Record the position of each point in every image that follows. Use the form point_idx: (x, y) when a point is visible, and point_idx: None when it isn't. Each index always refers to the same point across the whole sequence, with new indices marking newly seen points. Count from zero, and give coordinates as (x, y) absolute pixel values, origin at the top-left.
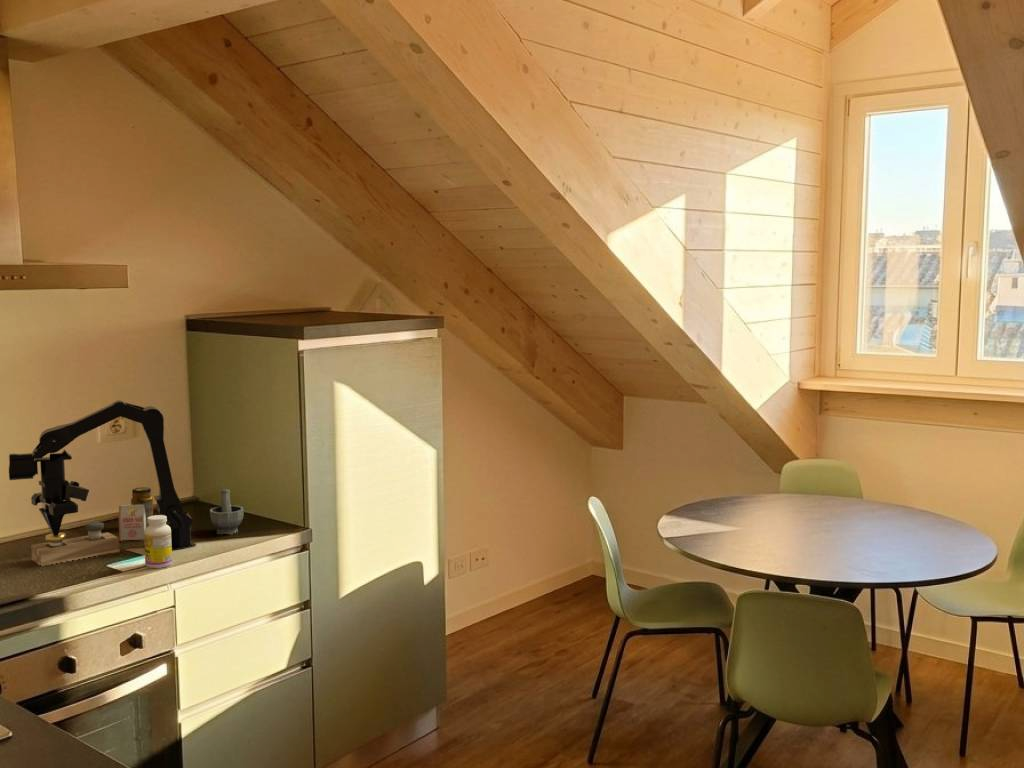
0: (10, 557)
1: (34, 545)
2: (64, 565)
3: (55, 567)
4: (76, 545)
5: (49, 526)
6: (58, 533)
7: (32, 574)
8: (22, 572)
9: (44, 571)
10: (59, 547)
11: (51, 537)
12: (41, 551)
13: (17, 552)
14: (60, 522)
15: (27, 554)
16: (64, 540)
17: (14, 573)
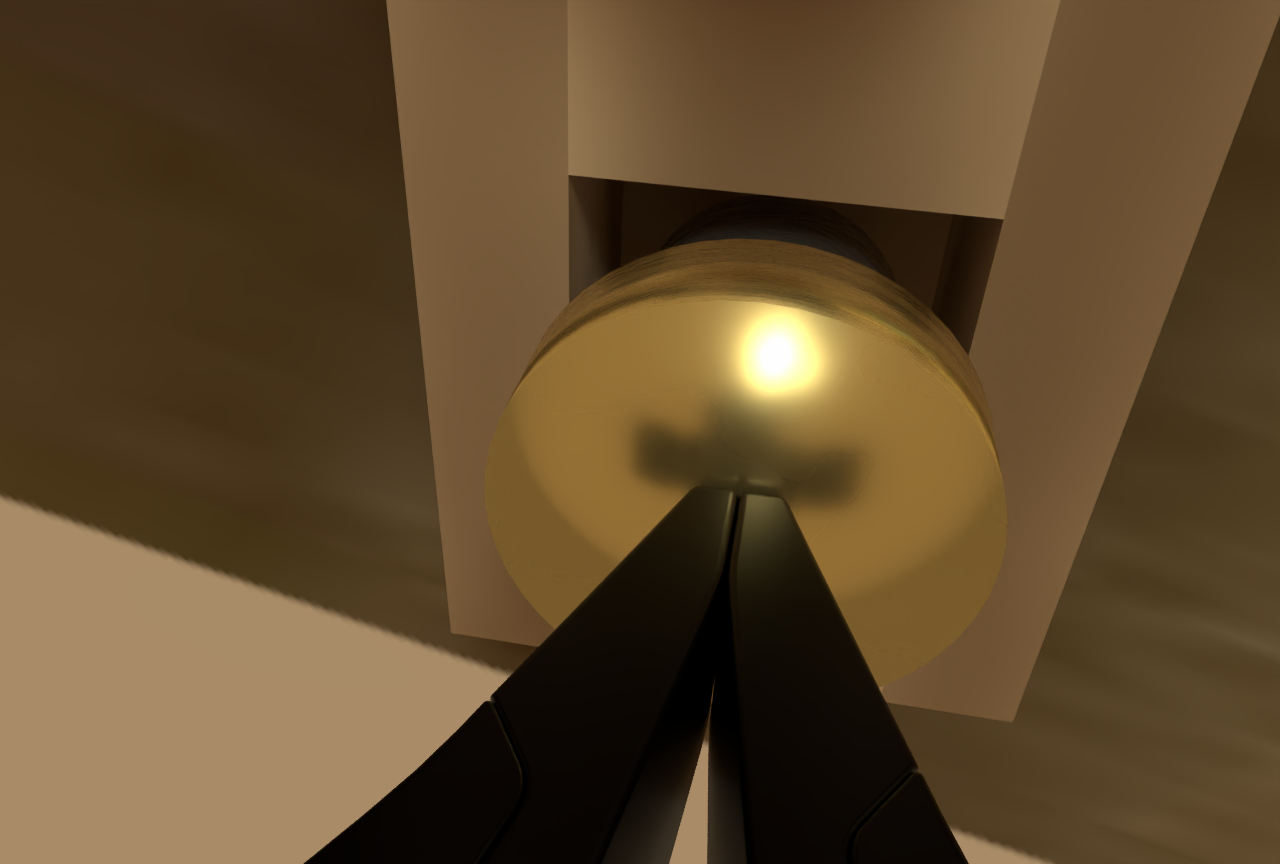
0: (228, 561)
1: (512, 617)
2: (1272, 301)
3: (1233, 439)
4: (1253, 58)
5: (670, 856)
6: (790, 517)
7: (1247, 732)
8: (1033, 748)
9: (1273, 608)
10: (1055, 432)
11: (899, 675)
12: (1012, 712)
13: (10, 423)
14: (928, 831)
15: (179, 387)
16: (484, 78)
17: (990, 798)
